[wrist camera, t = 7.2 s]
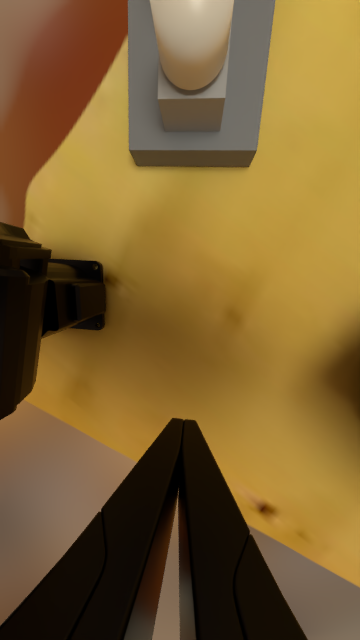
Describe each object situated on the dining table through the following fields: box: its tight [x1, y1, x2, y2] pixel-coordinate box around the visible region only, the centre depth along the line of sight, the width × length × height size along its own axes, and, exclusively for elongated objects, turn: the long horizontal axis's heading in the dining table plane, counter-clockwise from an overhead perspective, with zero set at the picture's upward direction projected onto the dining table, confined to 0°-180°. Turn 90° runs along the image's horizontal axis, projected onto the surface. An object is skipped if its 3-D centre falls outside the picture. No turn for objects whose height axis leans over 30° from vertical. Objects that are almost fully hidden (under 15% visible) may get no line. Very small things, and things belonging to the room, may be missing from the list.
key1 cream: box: [150, 0, 234, 90], centre depth 10 cm, size 4×4×5 cm
